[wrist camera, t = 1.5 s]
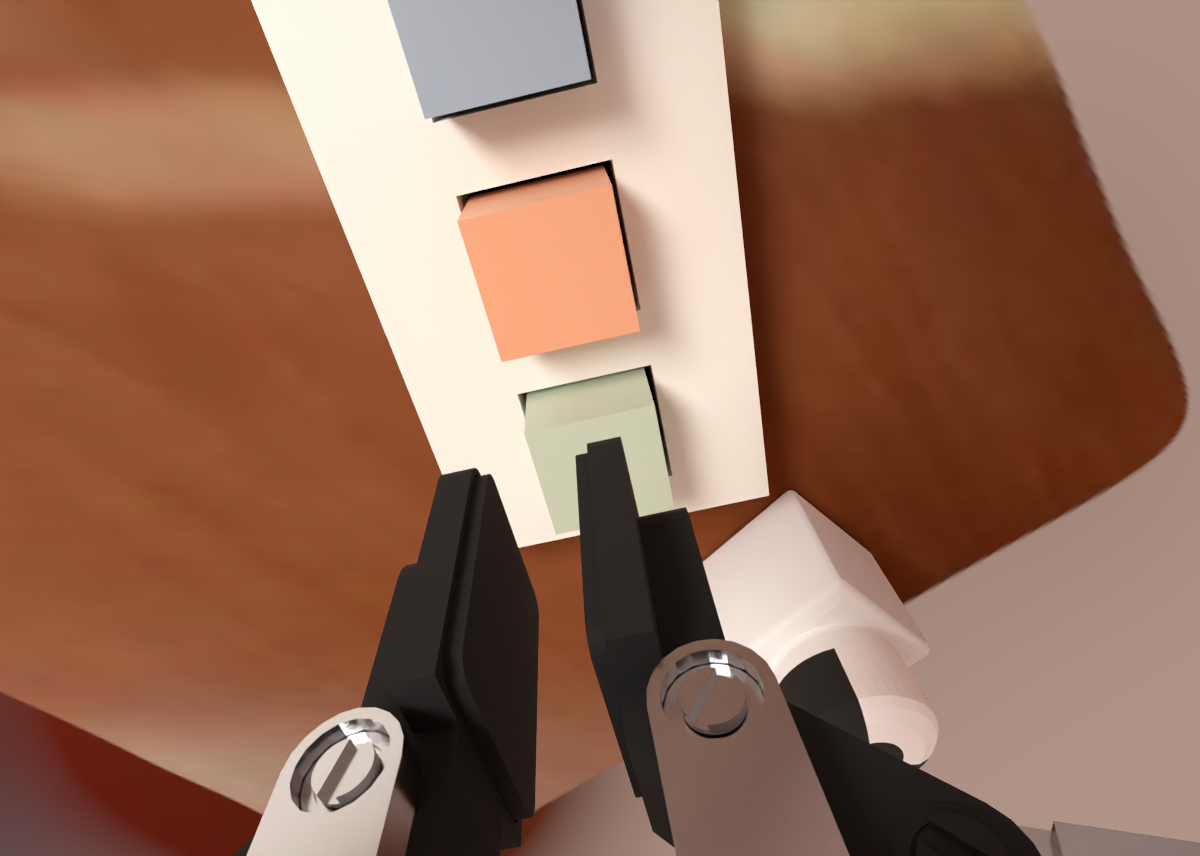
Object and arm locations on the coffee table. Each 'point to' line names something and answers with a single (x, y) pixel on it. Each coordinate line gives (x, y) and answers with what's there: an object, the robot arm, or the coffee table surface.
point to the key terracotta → (550, 263)
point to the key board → (523, 151)
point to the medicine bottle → (825, 626)
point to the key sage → (588, 416)
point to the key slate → (488, 49)
